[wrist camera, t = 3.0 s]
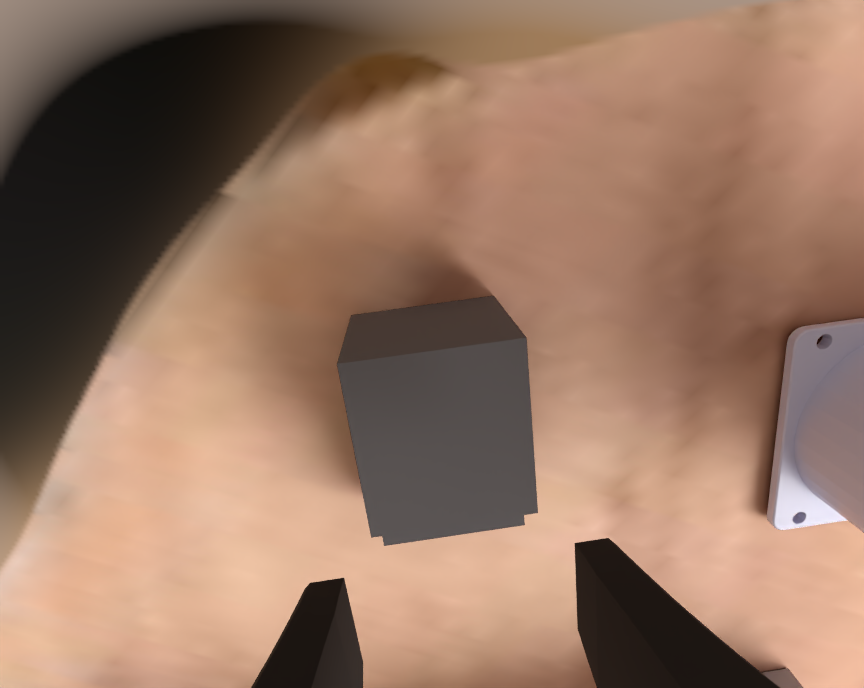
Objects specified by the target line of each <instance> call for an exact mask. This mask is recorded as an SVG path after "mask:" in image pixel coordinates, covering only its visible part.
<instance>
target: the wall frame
mask: <svg viewBox="0 0 864 688" xmlns="http://www.w3.org/2000/svg"><path fill="white" fill-rule="evenodd" d="M762 674H764V675H765V676H766V677H767V678H769V679H770V680H771V681H773V682H774V683H775V684H776V685H778V686H779V687H780V688H803V687H802V685H801V684H800V683H799V682H798V680H797V679H796V678H795V677H794V675H793V674H792V673H791V671H790V670H789V669H788V668H787V669H781V670H775V671H768V672H762Z"/></svg>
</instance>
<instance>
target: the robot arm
mask: <svg viewBox="0 0 864 688" xmlns="http://www.w3.org/2000/svg"><path fill="white" fill-rule="evenodd" d="M822 335H823V338H822V340H821V341H820V342H819V343H818V344H817V340H818V338H820V337H821V336H822ZM796 513H797V514H796ZM795 514H796V515H795ZM767 520H768V521H769V523H770V524H771V525H772V526H774V527H775V528H776V529H778V530H787V529H793V528H800V527H806V526H813V525H819V524H826V523H833V522H839V521H846V520H848V521H849V522H850V523H852V524H853V525H854V526H856V527H857V528H858V529H860V530H861V531H862V532H863V533H864V318H859V319H851V320H844V321H837V322H830V323H823V324H816V325H809V326H803V327H800V328H797V329H796V330H794V331H793V332H792V333H791V335H790V336H789V338H788V341H787V347H786V356H785V365H784V373H783V382H782V390H781V399H780V407H779V416H778V424H777V433H776V442H775V450H774V459H773V467H772V476H771V484H770V493H769V502H768V510H767ZM575 563H576V592H577V620H578V631H579V634H580V637H581V641H582V644H583V647H584V650H585V653H586V656H587V659H588V662H589V665H590V668H591V671H592V674H593V677H594V680H595V683H596V686H597V688H780V687H779V686H778V685H776V684H775V683H774V682H773V681H771V680H770V679H769V678H767V677H766V676H765V675H764V674H762V673H761V672H760V671H759V670H757V669H756V668H755V667H754V666H752V665H751V664H750V663H749V662H747V661H746V660H745V659H744V658H742V657H741V656H740V655H739V654H738V653H736V652H735V651H734V650H733V649H731V648H730V647H729V646H728V645H727V644H725V643H724V642H723V641H722V640H721V639H719V638H718V637H717V636H716V635H715V634H714V633H713V632H711V631H710V630H709V629H708V628H707V627H706V626H704V625H703V624H702V623H701V622H700V621H699V620H697V619H696V618H695V617H694V616H693V615H692V614H690V613H689V612H688V611H687V610H686V609H685V608H684V607H682V606H681V605H680V604H679V603H678V602H677V601H676V600H675V599H674V598H672V597H671V596H670V595H669V594H668V593H667V592H666V591H665V590H664V589H663V588H661V587H660V586H659V585H658V584H657V583H656V582H655V581H654V580H653V579H652V578H651V577H650V576H649V575H647V574H646V573H645V572H644V571H643V570H642V569H641V568H640V567H639V566H638V565H637V564H636V563H635V562H634V561H633V560H632V559H631V558H629V557H628V556H627V555H626V554H625V553H624V552H623V551H622V550H621V549H620V548H619V547H618V546H617V545H616V544H615V543H614V542H612V541H611V540H610V539H609V538H606V539H599V540H593V541H586V542H579V543H575ZM251 688H363V660H362V656H361V651H360V647H359V642H358V638H357V633H356V629H355V625H354V620H353V616H352V611H351V607H350V602H349V598H348V594H347V589H346V585H345V580H344V578H340V579H333V580H327V581H320V582H313V583H310V584H309V585H308V586H307V587H306V588H305V590H304V592H303V594H302V596H301V598H300V600H299V602H298V604H297V606H296V608H295V610H294V611H293V613H292V615H291V617H290V619H289V621H288V623H287V625H286V627H285V629H284V631H283V632H282V634H281V636H280V638H279V640H278V642H277V643H276V645H275V647H274V649H273V651H272V652H271V654H270V656H269V658H268V660H267V661H266V663H265V665H264V667H263V668H262V670H261V672H260V673H259V675H258V677H257V679H256V680H255V682H254V684H253V685H252V687H251Z"/></svg>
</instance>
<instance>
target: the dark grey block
mask: <svg viewBox="0 0 864 688" xmlns="http://www.w3.org/2000/svg"><path fill="white" fill-rule="evenodd" d="M337 367H338V372H339V377H340V382H341V387H342V392H343V397H344V402H345V407H346V412H347V417H348V422H349V427H350V432H351V437H352V442H353V447H354V453H355V458H356V463H357V468H358V473H359V478H360V483H361V488H362V493H363V498H364V503H365V508H366V513H367V518H368V523H369V528H370V533H371V538H372V537H378V536H382V537H383V542H384V546H387V545H394V544H400V543H407V542H414V541H420V540H427V539H434V538H441V537H447V536H454V535H461V534H467V533H474V532H481V531H488V530H494V529H501V528H508V527H514V526H521V525H525V523H524V515H527V514H533V513H538V508H537V492H536V477H535V462H534V446H533V431H532V415H531V400H530V385H529V369H528V354H527V339H526V336H525V335H524V334H523V333H522V331H521V330H520V329H519V327H518V326H517V325H516V324H515V322H514V321H513V320H512V319H511V317H510V316H509V315H508V313H507V312H506V311H505V310H504V308H503V307H502V306H501V304H500V303H499V302H498V301H497V299H496V298H495V297H494V296H487V297H480V298H473V299H466V300H458V301H451V302H444V303H437V304H429V305H422V306H415V307H408V308H400V309H393V310H386V311H379V312H371V313H364V314H357V315H351V318H350V322H349V325H348V328H347V332H346V335H345V339H344V342H343V345H342V349H341V352H340V356H339V359H338V362H337Z"/></svg>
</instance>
